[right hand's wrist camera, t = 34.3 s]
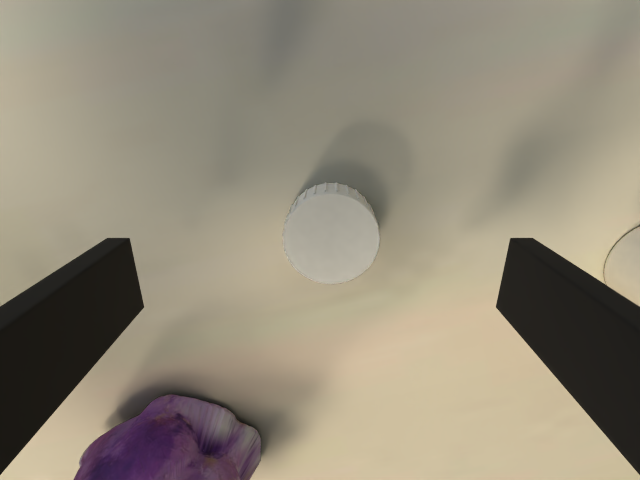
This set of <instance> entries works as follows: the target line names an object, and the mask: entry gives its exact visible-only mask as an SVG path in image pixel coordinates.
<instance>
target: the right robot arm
mask: <svg viewBox="0 0 640 480" xmlns="http://www.w3.org/2000/svg"><path fill="white" fill-rule="evenodd" d="M143 308H144V304H143V300H142V295H141V290H140V285H139V281H138V276H137V271H136V266H135V262H134V257H133V252H132V247H131V243H130V238H107V239H105V240H104V241H102V242H100V243H99V244H97V245H96V246H94V247H93V248H91V249H89V250H88V251H86V252H85V253H83V254H82V255H80V256H79V257H77V258H75V259H74V260H72V261H71V262H69V263H68V264H66V265H64V266H63V267H61V268H60V269H58V270H57V271H55V272H54V273H52V274H50V275H49V276H47V277H46V278H44V279H43V280H41V281H40V282H38V283H36V284H35V285H33V286H32V287H30V288H29V289H27V290H25V291H24V292H22V293H21V294H19V295H18V296H16V297H15V298H13V299H11V300H10V301H8V302H7V303H5V304H4V305H2V306H0V475H1V473H2V472H3V471H4V470H5V469H6V468H7V466H8V465H9V464H10V463H11V462H12V461H13V459H14V458H15V457H16V456H17V455H18V454H19V452H20V451H21V450H22V449H23V448H24V447H25V445H26V444H27V443H28V442H29V441H30V440H31V438H32V437H33V436H34V435H35V434H36V433H37V431H38V430H39V429H40V428H41V427H42V426H43V424H44V423H45V422H46V421H47V420H48V419H49V417H50V416H51V415H52V414H53V413H54V412H55V410H56V409H57V408H58V407H59V406H60V405H61V403H62V402H63V401H64V400H65V399H66V398H67V396H68V395H69V394H70V393H71V392H72V391H73V389H74V388H75V387H76V386H77V385H78V384H79V382H80V381H81V380H82V379H83V378H84V377H85V375H86V374H87V373H88V372H89V371H90V370H91V368H92V367H93V366H94V365H95V364H96V363H97V361H98V360H99V359H100V358H101V357H102V356H103V354H104V353H105V352H106V351H107V350H108V349H109V347H110V346H111V345H112V344H113V343H114V342H115V340H116V339H117V338H118V337H119V336H120V335H121V333H122V332H123V331H124V330H125V329H126V328H127V326H128V325H129V324H130V323H131V322H132V321H133V319H134V318H135V317H136V316H137V315H138V314H139V312H140V311H141V310H142V309H143ZM496 308H497V309H498V310H499V311H500V312H501V314H502V315H503V316H504V317H505V318H506V319H507V321H508V322H509V323H510V324H511V325H512V326H513V328H514V329H515V330H516V331H517V332H518V333H519V335H520V336H521V337H522V338H523V339H524V340H525V342H526V343H527V344H528V345H529V346H530V347H531V349H532V350H533V351H534V352H535V353H536V354H537V356H538V357H539V358H540V359H541V360H542V361H543V363H544V364H545V365H546V366H547V367H548V368H549V370H550V371H551V372H552V373H553V374H554V375H555V377H556V378H557V379H558V380H559V381H560V382H561V384H562V385H563V386H564V387H565V388H566V389H567V391H568V392H569V393H570V394H571V395H572V396H573V398H574V399H575V400H576V401H577V402H578V403H579V405H580V406H581V407H582V408H583V409H584V410H585V412H586V413H587V414H588V415H589V416H590V417H591V419H592V420H593V421H594V422H595V423H596V424H597V426H598V427H599V428H600V429H601V430H602V431H603V433H604V434H605V435H606V436H607V437H608V438H609V440H610V441H611V442H612V443H613V444H614V445H615V447H616V448H617V449H618V450H619V451H620V452H621V454H622V455H623V456H624V457H625V458H626V459H627V461H628V462H629V463H630V464H631V465H632V466H633V468H634V469H635V470H636V471H637V472H638V473H639V475H640V306H638V305H636V304H635V303H633V302H632V301H630V300H629V299H627V298H625V297H624V296H622V295H621V294H619V293H618V292H616V291H615V290H613V289H611V288H610V287H608V286H607V285H605V284H604V283H602V282H600V281H599V280H597V279H596V278H594V277H593V276H591V275H590V274H588V273H586V272H585V271H583V270H582V269H580V268H579V267H577V266H576V265H574V264H572V263H571V262H569V261H568V260H566V259H565V258H563V257H561V256H560V255H558V254H557V253H555V252H554V251H552V250H551V249H549V248H547V247H546V246H544V245H543V244H541V243H540V242H538V241H536V240H535V239H533V238H510V243H509V247H508V252H507V257H506V262H505V266H504V271H503V276H502V281H501V285H500V290H499V295H498V300H497V304H496Z"/></svg>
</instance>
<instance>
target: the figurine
mask: <svg viewBox="0 0 640 480" xmlns="http://www.w3.org/2000/svg"><path fill="white" fill-rule="evenodd" d="M260 447H261V439H260V435H259V434H258V431H257V430H256V429H254V428H253V427H251V426H248V425H246V424H244V423H241V422H239V421H238V420H237V419H236V418H235V415H234V414H233V413H232V412H230V411H229V410H228V409H226V408H225V407H224V408H222V407H221V406H219V405H216V404H213V403H211V404H210V403H209V402H207V401H202V400H198V399H195V398H189V397H185V396H179V395H172V394H170V395H166V396H160V397H158V398H157V399H155V400H154V401H152V402H151V403H150V404H149V405H148V406H147V407H146V408H145V409H144V411H143V412H142V413H141V414H140V415H138V416H136V417H134V418H132V419H130V420H128V421H125V422H123V423H121V424H119V425H117V426H115V427H114V428H112V429H111V430H109V431H108V432H106V433H105V434H103V435H102V436H100V437H99V438H98V439H96V440H95V441H94V442H93V443H92V444H91V445H90V446H89V447H88V448H87V449H86V450H85V451H84V453H83V455H82V456H81V458H80V462H79V465H80V468H79V470H78V472H77V474H76V476H75V478H74V480H250V478H251V476H252V475H253V473H254V471H255V469H256V468H257V466H258V465H259V462H260V460H261V454H260V452H261V451H260V450H261V448H260Z"/></svg>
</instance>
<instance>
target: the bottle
mask: <svg viewBox="0 0 640 480" xmlns="http://www.w3.org/2000/svg"><path fill="white" fill-rule="evenodd" d="M604 278H605V282H606V284H607V286H608V287H610V288H611V289H613V290H615V291H616V292H618V293H619V294H621V295H622V296H624V297H625V298H627V299H629V300H630V301H632V302H633V303H635V304H636V305H638V306H640V227H638V228H636V229H634V230H632V231H631V232H629V233H628V234H626V235H625V236H624V237H623V238H622V239H621V240H619V241H618V243H617V244H616V245H615V246H614V247H613V249H612V250H611V252H610V254H609V255H608V258H607V260H606V263H605V267H604Z"/></svg>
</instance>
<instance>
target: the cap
mask: <svg viewBox="0 0 640 480" xmlns="http://www.w3.org/2000/svg"><path fill="white" fill-rule="evenodd" d="M284 225H285V227H284V232H283V246H284V250H285V254H286V256H287V258H288V260H289V262H290V263H291V265H292V266H293V267H294V268H295V269H296V270H297V271H298V272H299V273H300V274H301V275H303V276H304V277H306V278H308V279H310V280H312V281H315V282H319V283H323V284H339V283H344V282H347V281H350V280H352V279H354V278H357V277H358V276H360V275H361V274H362V273H364V272H365V271H366V270H367V269H368V268H369V267H370V265H371V264H372V263H373V261H374V259H375V257H376V255H377V252H378V249H379V244H380V233H379V228H378V222H377V220H376V217H375V214H374V212H373V210H372V207H371V205H370V204H368V202H367V201H366V199H365V196H362V195H361V194H360V193H359V192H357V190H356V189H355V190H354V189H353V188H351V187H349V186H348V185H343V184H338V183H337V182H336V183H327V182H325V183H324V184H319V185H314V187H311V188H309V189H308V190H307V189H306V190H305V192H303V193H302V194H301V195H300V196H298V197H297V199H296V201H295V202H294V204H292V205H291V208H290V211H289V213H288V215H287V218H286V221H285V223H284Z"/></svg>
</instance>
